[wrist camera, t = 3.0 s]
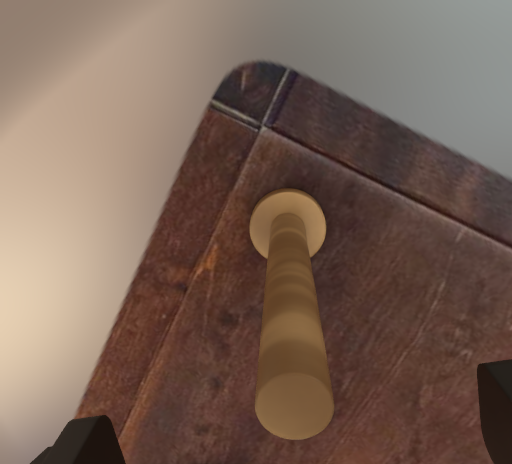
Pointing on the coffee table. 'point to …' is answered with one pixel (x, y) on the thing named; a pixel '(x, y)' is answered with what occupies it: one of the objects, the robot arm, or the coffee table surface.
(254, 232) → the tan tall turned piece
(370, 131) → the coffee table surface
